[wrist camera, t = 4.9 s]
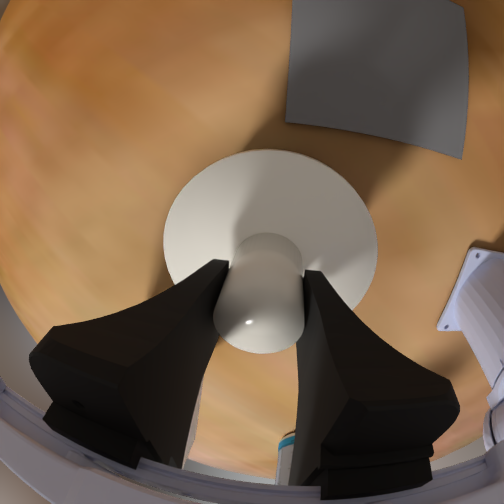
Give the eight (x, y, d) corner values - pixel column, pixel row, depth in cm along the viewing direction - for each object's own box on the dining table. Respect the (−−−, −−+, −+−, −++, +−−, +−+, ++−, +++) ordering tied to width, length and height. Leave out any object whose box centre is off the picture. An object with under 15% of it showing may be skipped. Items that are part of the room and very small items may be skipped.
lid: (399, 174, 9) (449, 214, 6) (340, 341, 14) (347, 406, 10) (168, 138, 10) (108, 161, 6) (173, 314, 14) (145, 373, 11)
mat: (460, 8, 9) (463, 7, 8) (458, 158, 14) (461, 159, 14) (294, -39, 10) (294, -41, 9) (285, 122, 15) (284, 122, 15)
